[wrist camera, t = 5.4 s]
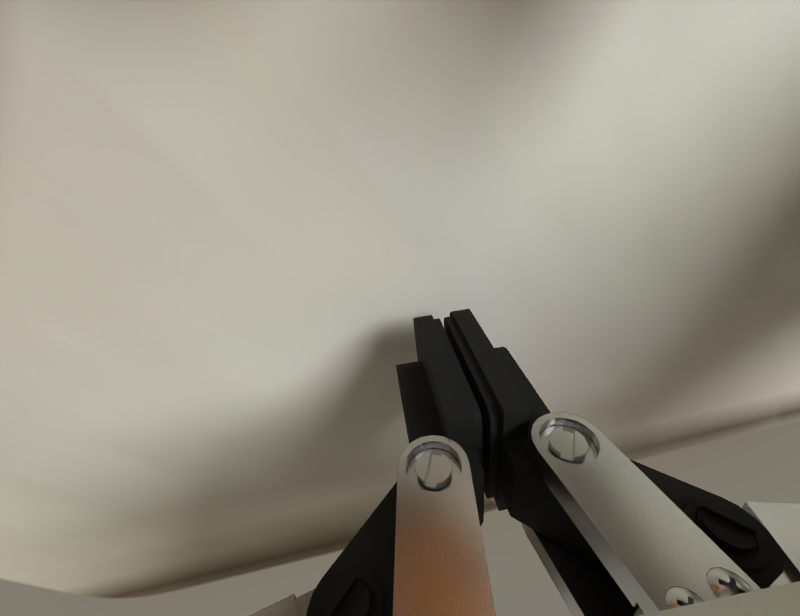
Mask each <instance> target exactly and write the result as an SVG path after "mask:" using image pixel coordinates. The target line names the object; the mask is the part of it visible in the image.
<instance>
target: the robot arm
mask: <svg viewBox="0 0 800 616" xmlns="http://www.w3.org/2000/svg"><path fill="white" fill-rule="evenodd" d="M413 320H414V330H415V339H416V348H417V357H418V362H412V363H406V364H400V365H396V367H397V374H398V380H399V387H400V393H401V399H402V405H403V411H404V416H405V422H406V428H407V433H408V439H409V445H408V446H407V447H406V448H405V449H404V450H403V452H402V454H401V456H400V458H399V463H398V473H397V482H396V484H395V485H394V486H393V488H392V489H391V490H390V491H389V493H388V494H387V495H386V497H385V498H384V499H383V500H382V502H381V503H380V504H379V506H378V507H377V508H376V509H375V511H374V512H373V513H372V515H371V516H370V517H369V518H368V520H367V521H366V522H365V524H364V525H363V526H362V527H361V529H360V530H359V531H358V533H357V534H356V535H355V536H354V538H353V539H352V540H351V542H350V543H349V544H348V545H347V547H346V548H345V549H344V551H343V552H342V553H341V555H340V556H339V557H338V558H337V560H336V561H335V562H334V564H333V565H332V566H331V568H330V569H329V570H328V571H327V573H326V574H325V575H324V577H323V578H322V579H321V581H320V582H319V584H318V585H317V587H316V589H314V590H312V591H310V592H308V593H306V594H304V595H302V596H300V597H298V598H296V597H295V595H294V594H293V595H291V596H289V597H287V598H285V599H283V600H281V601H279V602H277V603H275V604H273V605H270V606H268V607H267V608H264V609H262V610H260V611H258V612H256V613H254V614H252V615H250V616H496V615H495V609H494V603H493V598H492V592H491V586H490V580H489V575H488V569H487V563H486V557H485V551H484V545H483V539H482V534H481V528H480V527H481V525H482V523H483V514H484V492H485V495H486V497H487V498H492V497H494V499H495V502H496V504H497V507H498V510H499V511H500V510H505V509H508V511H509V513H510V516H512V517H513V518H515V519H517V520H518V521H520V522H521V523H522V526H523V528H524V530H525V533H526V535H527V537H528V539H529V540H530V542H531V544H532V546H533V547H534V549H535V551H536V552H537V554H538V556H539V558H540V559H541V561H542V563H543V565H544V566H545V568H546V570H547V572H548V573H549V575H550V577H551V579H552V580H553V582H554V584H555V586H556V587H557V589H558V591H559V592H560V594H561V596H562V598H563V600H564V601H565V603H566V605H567V607H568V608H569V610H570V612H571V613H572V615H573V616H800V504H788V503H765V502H745V503H744V505H743V506H742V507H740V506H738V505H736V504H733V503H732V502H730V501H728V500H726V499H724V498H722V497H719V496H717V495H715V494H712V493H709V492H707V491H705V490H702V489H700V488H698V487H695V486H693V485H690V484H688V483H685V482H683V481H681V480H678V479H676V478H673V477H671V476H668V475H666V474H664V473H661V472H658V471H656V470H654V469H651V468H649V467H647V466H644V465H642V464H640V463H637V462H635V461H632V460H630V459H628V458H627V457H626V456H625V455H624V454H623V453H622V452H621V451H620V450H619V449H618V448H617V447H616V446H615V445H614V444H613V443H612V442H611V441H610V440H609V439H608V438H607V437H606V436H605V435H604V434H603V433H602V432H601V431H600V430H599V429H598V428H596V427H595V426H594V425H593V424H591V423H590V422H589V421H587V420H585V419H583V418H581V417H579V416H576V415H572V414H569V413H559V412H555V413H550V411H549V410H548V408H547V407H546V405H545V404H544V403H543V401H542V400H541V398H540V397H539V395H538V394H537V392H536V391H535V389H534V388H533V386H532V385H531V383H530V382H529V381H528V379H527V378H526V376H525V375H524V373H523V372H522V370H521V369H520V367H519V366H518V364H517V363H516V361H515V360H514V359H513V357H512V356H511V354H510V353H509V351H508V350H507V349H506V348H505V347H499V348H494V347H493V346H492V344H491V343H490V341H489V340H488V338H487V336H486V335H485V333H484V332H483V330H482V328H481V327H480V325H479V324H478V322H477V320H476V319H475V317H474V316H473V314H472V312H471V311H470V310H469V309H465V310H459V311H453V312H450V317H446V318H444V327H443V325H442V323H441V321H440V319H433V317H432V315H429V316H423V317H417V318H414V319H413Z"/></svg>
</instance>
